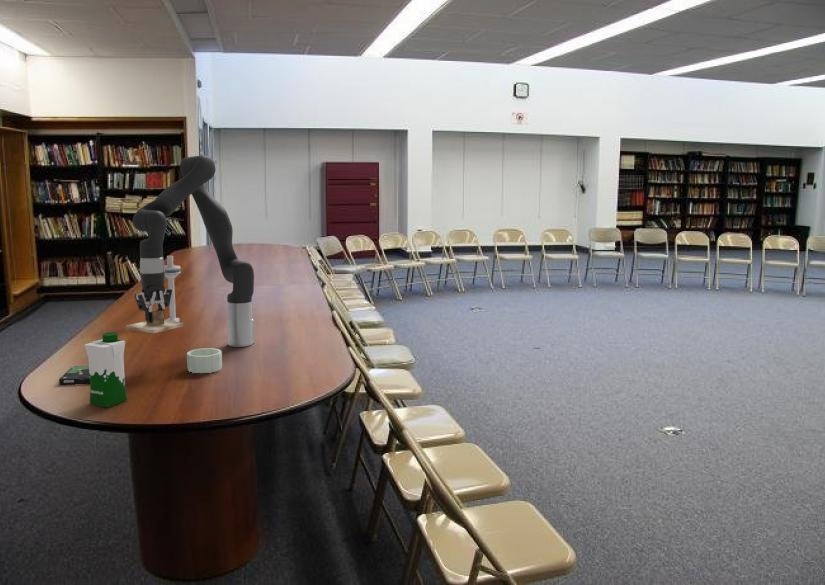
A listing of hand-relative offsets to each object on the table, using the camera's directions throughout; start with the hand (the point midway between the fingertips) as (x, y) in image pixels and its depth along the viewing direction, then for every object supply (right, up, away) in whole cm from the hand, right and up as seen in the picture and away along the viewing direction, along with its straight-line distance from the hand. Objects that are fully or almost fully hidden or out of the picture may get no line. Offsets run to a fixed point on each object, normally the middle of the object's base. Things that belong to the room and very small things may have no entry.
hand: (155, 321), depth 224 cm
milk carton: (-2, -23, -30) cm, 38 cm away
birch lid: (0, -2, 0) cm, 2 cm away
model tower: (-21, -4, +75) cm, 78 cm away
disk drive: (-21, -19, -7) cm, 29 cm away
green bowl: (+15, -17, +4) cm, 23 cm away
